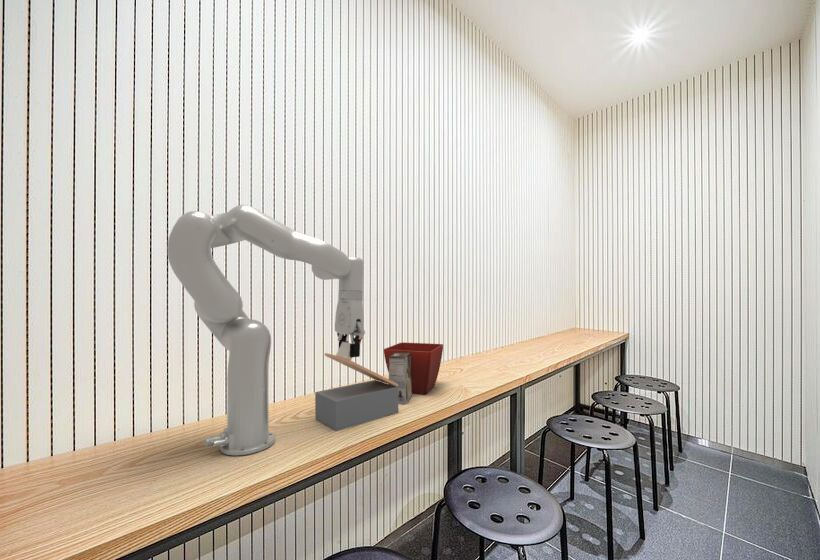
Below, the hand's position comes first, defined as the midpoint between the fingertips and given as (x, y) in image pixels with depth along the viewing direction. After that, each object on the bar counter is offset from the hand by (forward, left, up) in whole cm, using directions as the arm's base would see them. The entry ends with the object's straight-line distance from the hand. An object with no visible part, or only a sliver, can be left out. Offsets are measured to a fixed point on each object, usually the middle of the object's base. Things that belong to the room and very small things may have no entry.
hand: (348, 355), depth 108 cm
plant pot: (+36, +10, -19) cm, 42 cm away
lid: (+4, 0, -6) cm, 7 cm away
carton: (+3, 0, -19) cm, 19 cm away
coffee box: (+23, +3, -19) cm, 30 cm away
